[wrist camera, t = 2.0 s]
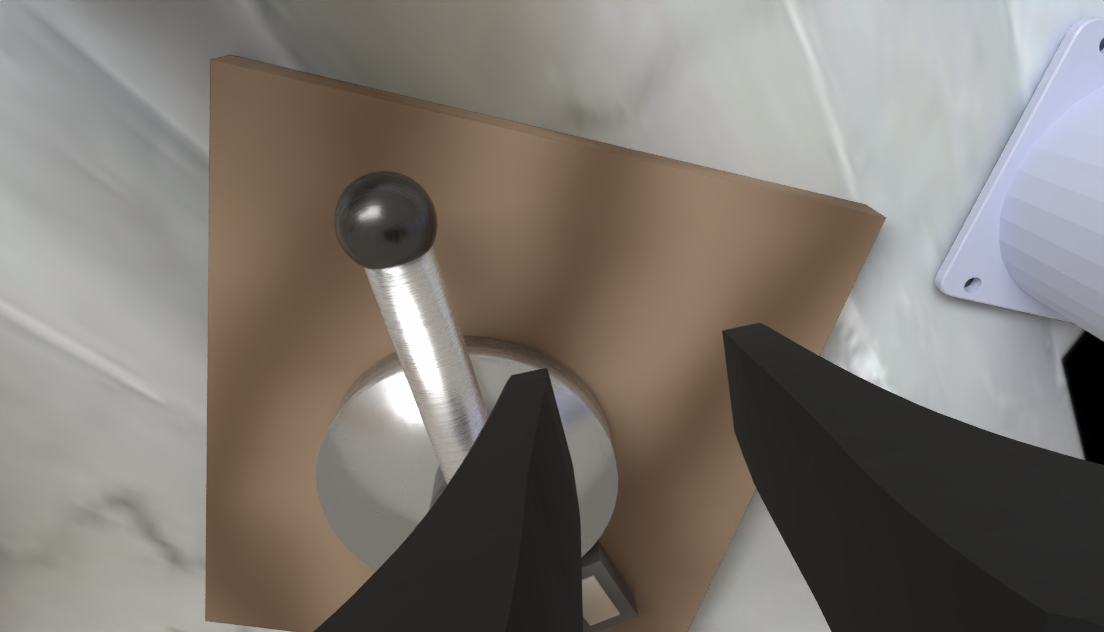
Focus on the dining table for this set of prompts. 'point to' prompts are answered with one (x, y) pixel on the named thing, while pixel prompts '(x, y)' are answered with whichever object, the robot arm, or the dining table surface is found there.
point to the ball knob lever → (430, 387)
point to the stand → (491, 323)
